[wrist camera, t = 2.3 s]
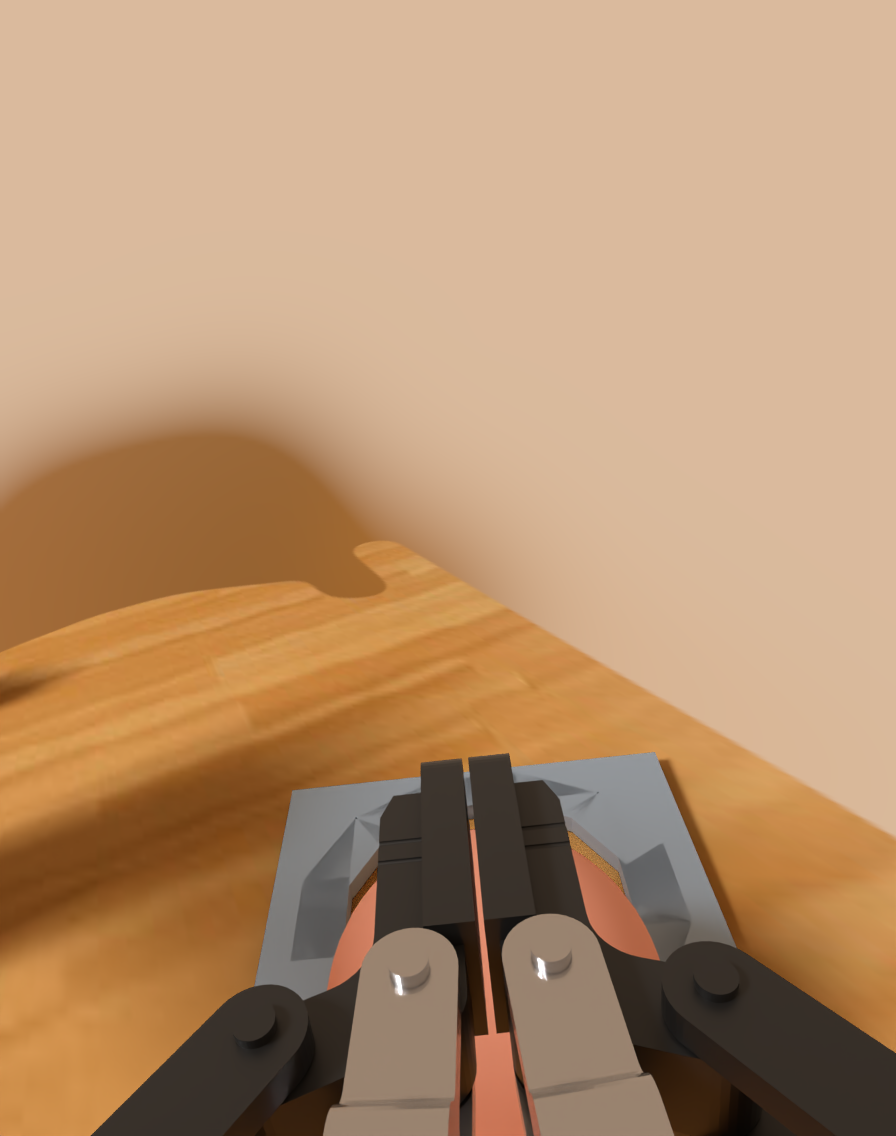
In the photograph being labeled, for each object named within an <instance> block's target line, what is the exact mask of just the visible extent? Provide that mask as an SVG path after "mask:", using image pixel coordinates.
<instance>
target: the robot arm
mask: <svg viewBox="0 0 896 1136" xmlns="http://www.w3.org/2000/svg"><path fill="white" fill-rule="evenodd" d="M468 760H469V771H470V782H471V792H472V803H473V813H474V824H475V834H476V845H477V855H478V866H479V876H480V887H481V897H482V908H483V918H484V927H485V936H486V945H487V954H488V962H489V971H490V980H491V989H492V997H493V1006H494V1015H495V1024H496V1032H497V1034H498V1033H507V1032H510V1041H511V1050H512V1058H513V1066H514V1076H515V1086H516V1092H517V1098H518V1103H519V1108H520V1114H521V1119H522V1125H523V1130H524V1135H525V1136H896V1053H895V1052H893V1051H892V1050H890V1049H889V1048H887V1047H886V1046H884V1045H883V1044H881V1043H880V1042H878V1041H877V1040H875V1039H874V1038H872V1037H871V1036H869V1035H868V1034H866V1033H865V1032H863V1031H862V1030H860V1029H859V1028H857V1027H856V1026H854V1025H853V1024H851V1023H850V1022H848V1021H847V1020H845V1019H844V1018H842V1017H841V1016H839V1015H838V1014H836V1013H835V1012H833V1011H832V1010H830V1009H829V1008H827V1007H826V1006H824V1005H823V1004H821V1003H820V1002H818V1001H817V1000H815V999H814V998H812V997H811V996H809V995H808V994H806V993H805V992H803V991H802V990H800V989H799V988H797V987H796V986H794V985H793V984H791V983H790V982H788V981H787V980H785V979H784V978H782V977H781V976H779V975H778V974H776V973H775V972H773V971H772V970H770V969H769V968H767V967H766V966H764V965H763V964H761V963H760V962H758V961H757V960H755V959H754V958H752V957H751V956H749V955H748V954H746V953H744V952H743V951H741V950H739V949H737V948H735V947H733V946H730V945H727V944H724V943H720V942H713V941H699V942H693V943H689V944H686V945H684V946H682V947H680V948H678V949H677V950H675V951H674V952H673V953H672V954H671V955H670V956H669V957H668V959H667V960H666V962H664V961H659V960H653V959H648V958H643V957H638V956H634V955H630V954H627V953H625V952H622V951H620V950H618V949H616V948H614V947H612V946H611V945H609V944H608V943H607V942H605V941H604V940H603V939H602V938H601V937H600V936H599V935H598V934H597V933H596V932H595V930H594V929H593V927H592V926H591V924H590V922H589V919H588V916H587V913H586V909H585V905H584V900H583V896H582V892H581V888H580V883H579V879H578V875H577V871H576V866H575V862H574V858H573V854H572V849H571V846H570V841H569V837H568V832H567V828H566V826H565V820H564V815H563V811H562V807H561V803H560V799H559V798H558V796H557V795H556V794H555V793H554V792H553V791H552V790H551V789H550V787H549V786H548V785H547V784H546V783H545V782H544V781H543V780H537V781H527V782H518V783H514V780H513V774H512V768H511V762H510V756H509V753H507V754H497V755H488V756H478V757H469V758H468ZM481 1035H489V1034H488V1022H487V1011H486V1000H485V988H484V977H483V965H482V954H481V943H480V931H479V920H478V909H477V897H476V886H475V874H474V863H473V853H472V843H471V833H470V825H469V816H468V807H467V799H466V790H465V782H464V773H463V765H462V758H461V759H452V760H442V761H433V762H423V763H421V793H415V794H406V795H396V796H393V797H392V799H391V800H390V802H389V804H388V806H387V807H386V809H385V811H384V812H383V814H382V816H381V817H380V830H379V850H378V870H377V889H376V909H375V928H374V941H373V946H372V947H371V948H370V950H369V951H368V953H367V954H366V956H365V958H364V960H363V962H362V966H361V968H360V969H359V970H358V971H357V972H356V973H355V974H354V975H353V976H351V977H350V978H349V979H348V980H346V981H345V982H343V983H341V984H340V985H338V986H336V987H334V988H332V989H330V990H327V991H325V992H322V993H320V994H317V995H315V996H313V997H310V998H308V999H305V1000H302V999H301V997H300V996H299V995H298V994H297V993H296V992H294V991H293V990H291V989H289V988H287V987H284V986H280V985H273V984H268V985H259V986H255V987H251V988H249V989H246V990H244V991H242V992H240V993H238V994H236V995H235V996H233V997H232V998H230V999H229V1000H228V1001H226V1002H225V1003H224V1004H223V1005H222V1006H221V1007H220V1008H219V1009H218V1010H217V1011H216V1012H215V1013H214V1014H213V1015H212V1016H211V1017H210V1018H209V1019H208V1020H207V1021H206V1022H205V1023H204V1024H203V1025H202V1026H201V1027H200V1028H199V1029H198V1030H197V1031H196V1032H195V1033H194V1034H193V1035H192V1036H191V1037H190V1038H189V1039H188V1040H187V1041H186V1042H185V1043H184V1044H183V1045H182V1046H181V1047H180V1048H179V1049H178V1050H177V1051H176V1052H175V1053H174V1054H173V1055H172V1056H171V1057H170V1058H169V1059H168V1060H167V1061H166V1062H165V1063H164V1064H162V1065H161V1066H160V1067H159V1068H158V1069H157V1070H156V1071H155V1072H154V1073H153V1074H152V1075H151V1076H150V1077H149V1078H148V1079H147V1080H146V1081H145V1082H144V1083H143V1084H142V1085H141V1086H140V1087H139V1088H138V1089H137V1090H136V1091H135V1092H134V1093H133V1094H132V1095H131V1096H130V1097H129V1098H128V1099H127V1100H126V1101H125V1102H124V1103H123V1104H122V1105H121V1106H120V1107H119V1108H118V1109H117V1110H116V1111H115V1112H114V1113H113V1114H112V1115H111V1116H110V1117H109V1118H108V1119H107V1120H106V1121H105V1122H104V1123H103V1124H102V1125H101V1126H100V1127H99V1128H98V1129H97V1130H96V1131H95V1132H94V1133H93V1134H92V1135H91V1136H475V1135H476V1091H475V1078H476V1073H477V1061H476V1047H475V1036H481Z"/></svg>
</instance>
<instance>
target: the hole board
mask: <svg viewBox="0 0 896 1136" xmlns="http://www.w3.org/2000/svg"><path fill="white" fill-rule="evenodd" d="M511 768H512V774H513V780H514V783H518V782H527V781H537V780H543V781H544V782H545V783H546V784H547V785H548V786H549V787H550V789H551V790H552V791H553V792H554V793H555V794H556V795H557V796H558V798H559V799H560V803H561V807H562V811H563V815H564V820H565V826H566V828H567V831H571V832H573V833H574V834H575V835H576V836H578V837H579V838H580V839H581V840H582V841H583V842H584V843H586V844H587V845H588V846H589V847H590V848H591V849H593V850H594V851H595V852H596V853H597V854H598V855H600V856H601V857H602V858H603V859H604V860H605V861H607V862H608V863H609V864H610V865H611V866H612V867H613V868H615V869H616V870H617V871H618V872H619V875H620V878H621V882H622V885H623V888H624V892H625V895H626V897H627V899H628V900H629V901H630V903H631V904H632V905H633V906H634V908H635V909H636V911H637V912H638V914H639V916H640V918H641V919H642V921H643V923H644V925H645V926H646V928H647V930H648V932H649V934H650V936H651V938H652V941H653V943H654V946H655V948H656V951H657V953H658V956H659V959H660V961H664V962H666V960H667V959H668V957H669V956H670V955H671V954H672V953H673V952H674V951H675V950H677V949H678V948H680V947H682V946H684V945H686V944H689V943H693V942H699V941H713V942H720V943H724V944H727V945H730V946H733V947H735V948H737V947H736V945H735V942H734V940H733V938H732V935H731V933H730V931H729V928H728V926H727V923H726V921H725V919H724V916H723V914H722V911H721V909H720V907H719V904H718V902H717V899H716V897H715V895H714V892H713V890H712V888H711V885H710V883H709V880H708V878H707V876H706V873H705V871H704V868H703V866H702V864H701V861H700V859H699V857H698V854H697V852H696V849H695V847H694V845H693V842H692V840H691V837H690V835H689V833H688V830H687V828H686V826H685V823H684V821H683V818H682V816H681V814H680V811H679V809H678V806H677V804H676V802H675V799H674V797H673V795H672V792H671V790H670V787H669V785H668V783H667V780H666V778H665V775H664V773H663V771H662V768H661V766H660V764H659V761H658V759H657V756H656V754H655V752H652V753H642V754H633V755H623V756H614V757H604V758H595V759H585V760H576V761H566V762H557V763H547V764H538V765H528V766H519V767H511ZM463 773H464V782H465V790H466V799H467V807H468V816H469V819H474V813H473V803H472V792H471V782H470V772H463ZM415 793H421V777H415V778H405V779H396V780H386V781H377V782H367V783H358V784H348V785H339V786H329V787H320V788H310V789H301V790H293V791H292V796H291V801H290V807H289V812H288V817H287V822H286V827H285V832H284V837H283V842H282V847H281V853H280V858H279V863H278V868H277V873H276V878H275V883H274V888H273V894H272V899H271V904H270V909H269V914H268V919H267V924H266V929H265V935H264V940H263V945H262V950H261V955H260V960H259V965H258V970H257V975H256V981H255V986H259V985H268V984H273V985H280V986H284V987H287V988H289V989H291V990H293V991H294V992H296V993H297V994H298V995H299V996H300V997H301V999H302V1000H305V999H308V998H310V997H313V996H315V995H317V994H320V993H322V992H325V991H327V987H328V982H329V976H330V971H331V967H332V963H333V959H334V956H335V953H336V949H337V946H338V943H339V940H340V938H341V936H342V934H343V932H344V930H345V928H346V926H347V924H348V921H349V919H350V917H351V906H352V899H353V898H354V896H355V895H356V894H357V893H358V891H359V890H360V889H361V887H362V886H363V885H364V883H365V882H366V881H367V879H368V878H369V877H370V876H371V874H372V873H373V872H374V870H375V869H376V868H377V866H378V850H379V830H380V817H381V816H382V814H383V812H384V811H385V809H386V807H387V806H388V804H389V802H390V800H391V799H392V797H393V796H396V795H406V794H415ZM255 986H254V987H255Z"/></svg>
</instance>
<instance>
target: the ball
mask: <svg viewBox="0 0 896 1136" xmlns="http://www.w3.org/2000/svg"><path fill="white" fill-rule="evenodd" d="M470 833H471V843H472V853H473V863H474V874H475V886H476V897H477V909H478V920H479V931H480V943H481V954H482V965H483V977H484V988H485V1000H486V1011H487V1022H488V1034H489V1035H481V1036H475V1047H476V1061H477V1073H476V1078H475V1091H476V1135H475V1136H525V1135H524V1130H523V1125H522V1119H521V1114H520V1108H519V1103H518V1098H517V1092H516V1086H515V1076H514V1066H513V1058H512V1050H511V1041H510V1032H507V1033H498V1034H497V1032H496V1024H495V1015H494V1006H493V997H492V989H491V980H490V971H489V962H488V954H487V945H486V936H485V927H484V918H483V908H482V897H481V887H480V876H479V866H478V855H477V845H476V834H475V829H473V830H470ZM572 854H573V858H574V862H575V866H576V871H577V875H578V879H579V883H580V888H581V892H582V896H583V900H584V905H585V909H586V913H587V916H588V919H589V922H590V924H591V926H592V927H593V929H594V930H595V932H596V933H597V934H598V935H599V936H600V937H601V938H602V939H603V940H604V941H605V942H607V943H608V944H609V945H611V946H612V947H614V948H616V949H618V950H620V951H622V952H625V953H627V954H630V955H634V956H638V957H643V958H648V959H653V960H659V961H660V959H659V956H658V953H657V951H656V948H655V946H654V943H653V941H652V938H651V936H650V934H649V932H648V930H647V928H646V926H645V925H644V923H643V921H642V919H641V918H640V916H639V914H638V912H637V911H636V909H635V908H634V906H633V905H632V904H631V903H630V901H629V900H628V899H627V897H626V896H625V895H624V893H623V892H622V891H621V890H620V888H619V887H618V886H617V885H616V884H615V883H614V882H613V881H612V880H611V879H610V878H609V877H608V876H607V875H606V874H605V873H604V872H603V871H602V870H601V869H599V868H598V867H597V866H596V865H594V864H593V863H592V862H591V861H589V860H588V859H587V858H585V857H584V856H583V855H581V854H579V853H578V852H576V851H574V850H573V849H572ZM376 889H377V881H376V882H375V883H374V884H373V885H372V887H371V888H370V889H369V890H368V892H367V893H366V894H365V895H364V897H363V898H362V899H361V901H360V902H359V904H358V906H357V907H356V909H355V910H354V912H353V913H352V915H351V917H350V919H349V921H348V924H347V926H346V928H345V930H344V932H343V934H342V936H341V938H340V940H339V943H338V946H337V949H336V953H335V956H334V959H333V963H332V967H331V971H330V976H329V982H328V987H327V990H330V989H332V988H334V987H336V986H338V985H340V984H341V983H343V982H345V981H346V980H348V979H349V978H350V977H351V976H353V975H354V974H355V973H356V972H357V971H358V970H359V969H360V968H361V966H362V962H363V960H364V958H365V956H366V954H367V953H368V951H369V950H370V948H371V947H372V946H373V941H374V928H375V909H376Z"/></svg>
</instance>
